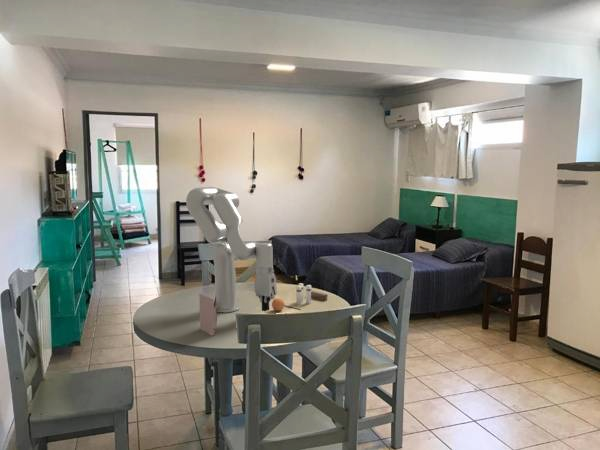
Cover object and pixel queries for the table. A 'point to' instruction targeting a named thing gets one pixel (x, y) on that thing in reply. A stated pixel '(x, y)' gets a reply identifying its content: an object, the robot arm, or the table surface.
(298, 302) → the front pin
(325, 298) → the backstop wall
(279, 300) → the ball
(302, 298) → the pin
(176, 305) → the table surface
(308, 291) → the pin
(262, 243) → the robot arm
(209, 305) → the greeting card
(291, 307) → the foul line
